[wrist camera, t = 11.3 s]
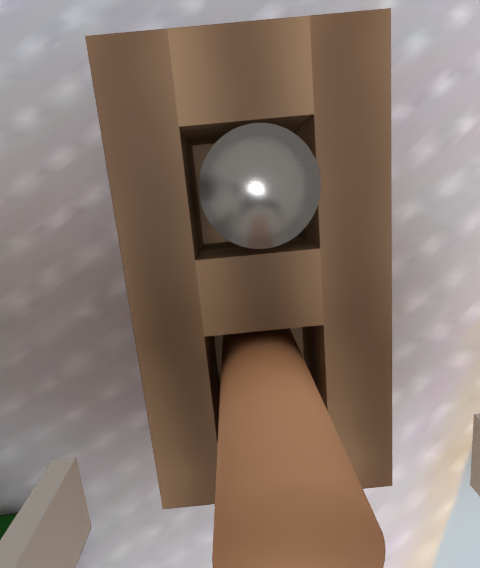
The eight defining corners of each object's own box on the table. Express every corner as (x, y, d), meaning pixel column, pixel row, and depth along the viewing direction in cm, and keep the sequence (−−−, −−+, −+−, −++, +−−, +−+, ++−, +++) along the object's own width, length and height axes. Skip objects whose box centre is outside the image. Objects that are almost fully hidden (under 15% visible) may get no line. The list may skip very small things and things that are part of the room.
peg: (226, 375, 25) (221, 634, 10) (219, 310, 24) (202, 494, 9) (293, 368, 25) (386, 617, 10) (289, 303, 24) (384, 476, 9)
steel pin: (215, 229, 23) (205, 254, 13) (207, 158, 22) (191, 128, 12) (282, 223, 23) (323, 243, 13) (277, 152, 22) (318, 117, 12)
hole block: (179, 429, 27) (162, 509, 20) (129, 86, 22) (85, 35, 15) (350, 411, 27) (392, 485, 20) (339, 67, 22) (390, 8, 15)
